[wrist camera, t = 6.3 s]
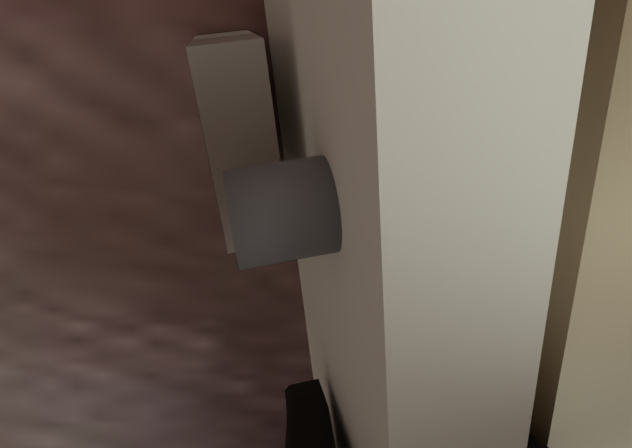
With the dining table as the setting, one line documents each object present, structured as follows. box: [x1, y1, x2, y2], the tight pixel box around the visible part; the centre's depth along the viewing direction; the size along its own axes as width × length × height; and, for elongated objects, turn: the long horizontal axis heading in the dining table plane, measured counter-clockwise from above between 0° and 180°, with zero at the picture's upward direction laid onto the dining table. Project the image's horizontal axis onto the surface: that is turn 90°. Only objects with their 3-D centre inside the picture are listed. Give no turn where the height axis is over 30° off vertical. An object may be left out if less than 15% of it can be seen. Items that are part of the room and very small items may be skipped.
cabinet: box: [185, 0, 632, 448], centre depth 11 cm, size 20×15×6 cm
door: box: [222, 0, 595, 448], centre depth 9 cm, size 16×3×7 cm, turn 6°
